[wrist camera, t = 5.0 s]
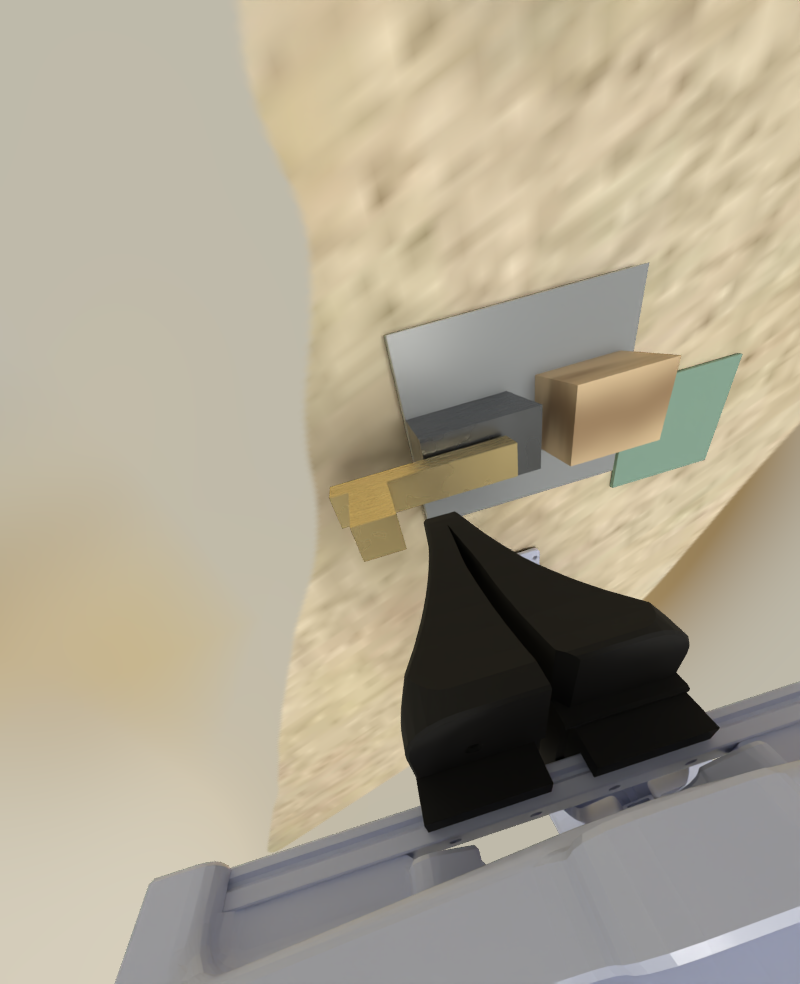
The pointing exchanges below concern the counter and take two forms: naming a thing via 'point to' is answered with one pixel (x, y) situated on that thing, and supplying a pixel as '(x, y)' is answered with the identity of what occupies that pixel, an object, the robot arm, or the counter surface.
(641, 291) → the housing plate
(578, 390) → the oak cover
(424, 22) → the counter surface
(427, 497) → the latch bolt
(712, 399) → the pad
